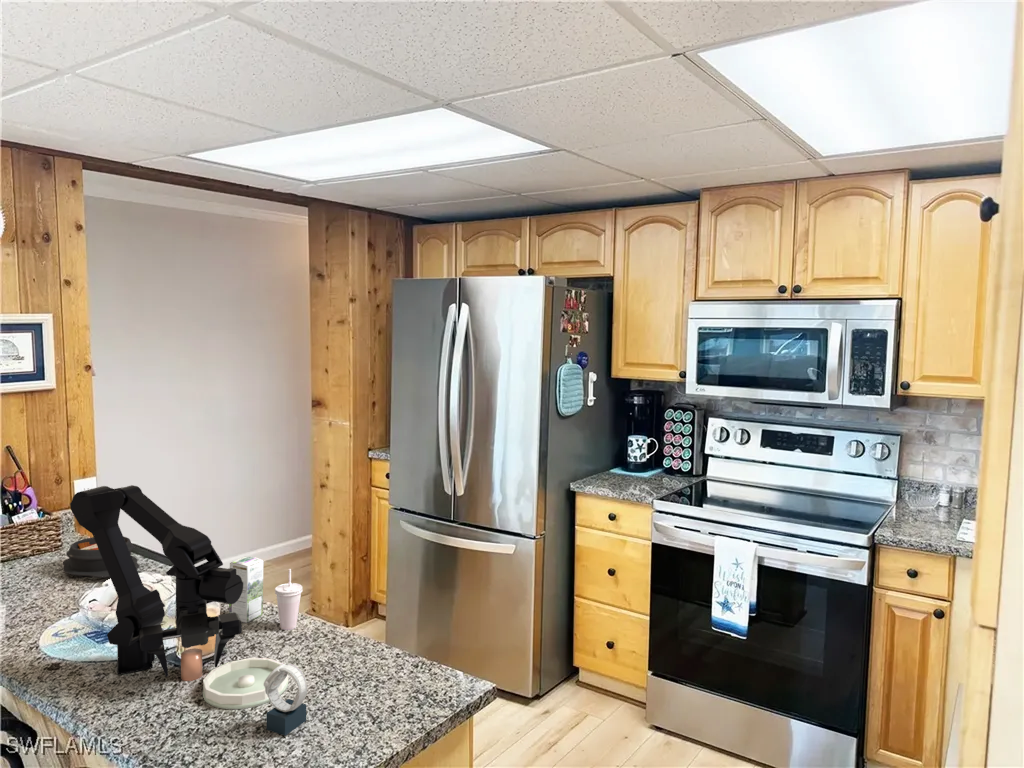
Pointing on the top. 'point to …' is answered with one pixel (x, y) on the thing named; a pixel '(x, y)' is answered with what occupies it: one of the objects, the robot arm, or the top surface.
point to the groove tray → (240, 683)
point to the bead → (191, 664)
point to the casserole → (89, 559)
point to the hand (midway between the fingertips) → (191, 671)
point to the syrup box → (249, 588)
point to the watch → (288, 711)
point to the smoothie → (288, 603)
